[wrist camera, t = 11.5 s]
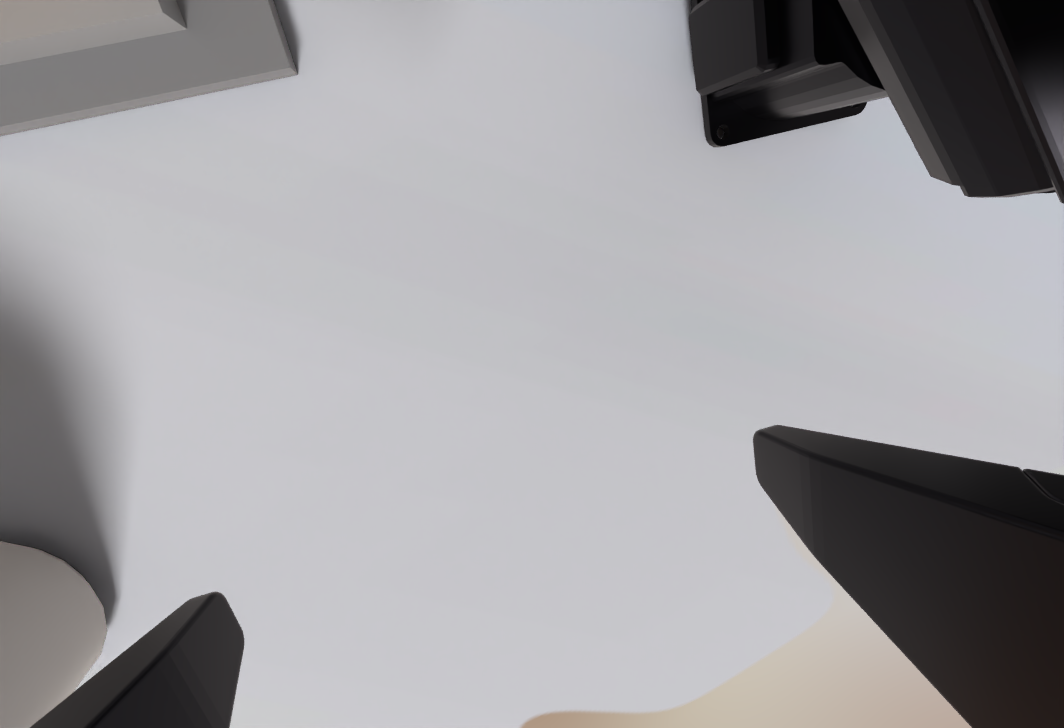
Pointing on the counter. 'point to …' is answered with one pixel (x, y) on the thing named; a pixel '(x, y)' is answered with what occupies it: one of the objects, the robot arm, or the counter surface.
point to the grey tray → (129, 55)
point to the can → (43, 633)
